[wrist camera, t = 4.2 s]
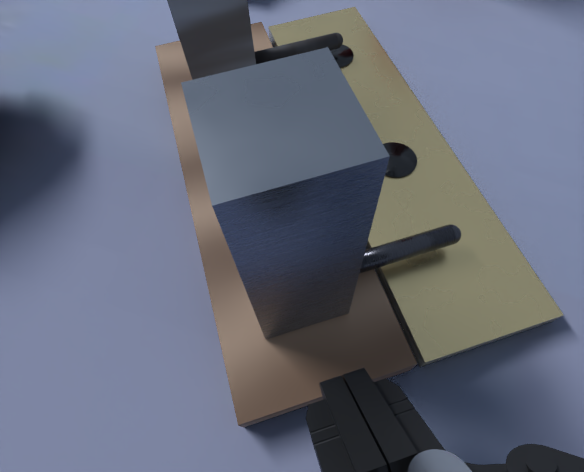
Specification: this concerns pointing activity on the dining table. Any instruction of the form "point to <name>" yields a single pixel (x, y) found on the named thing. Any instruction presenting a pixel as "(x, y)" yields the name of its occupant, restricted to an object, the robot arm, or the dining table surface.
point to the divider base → (217, 257)
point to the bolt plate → (430, 212)
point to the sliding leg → (296, 185)
